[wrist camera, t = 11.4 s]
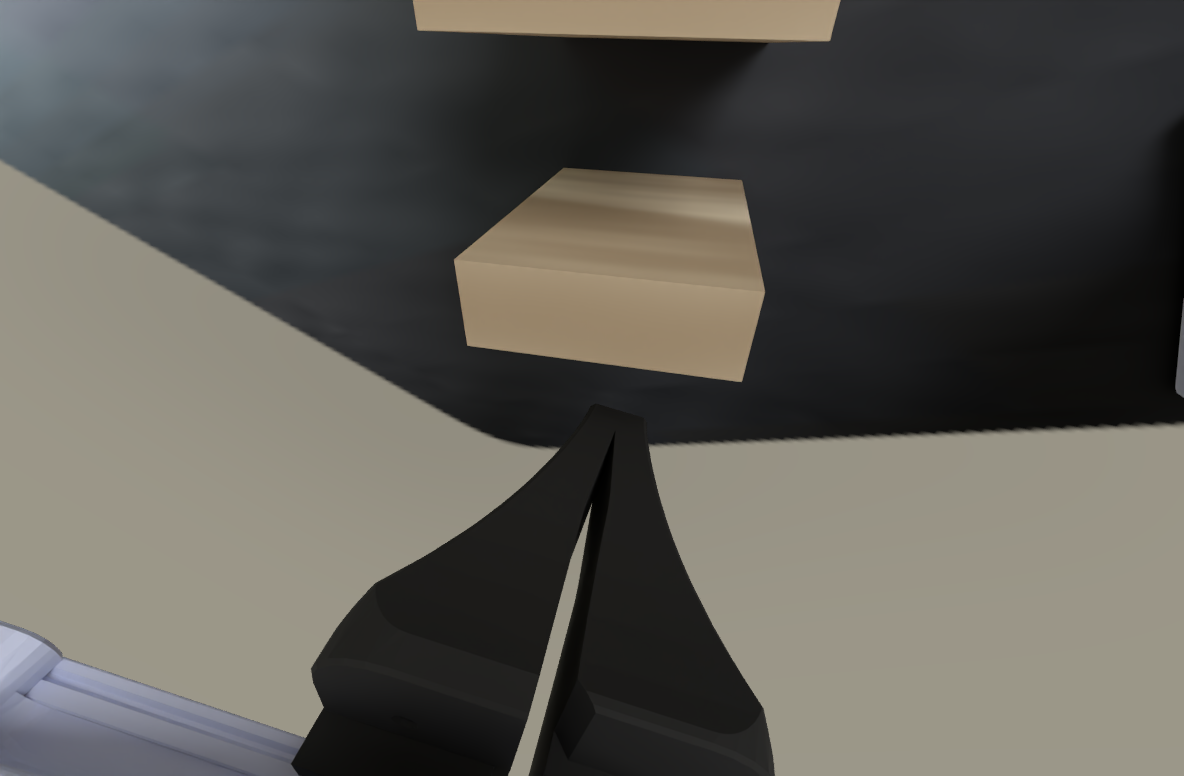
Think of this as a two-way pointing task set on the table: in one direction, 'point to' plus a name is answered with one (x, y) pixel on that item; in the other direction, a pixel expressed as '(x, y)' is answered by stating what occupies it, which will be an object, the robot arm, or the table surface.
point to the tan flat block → (636, 19)
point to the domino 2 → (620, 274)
